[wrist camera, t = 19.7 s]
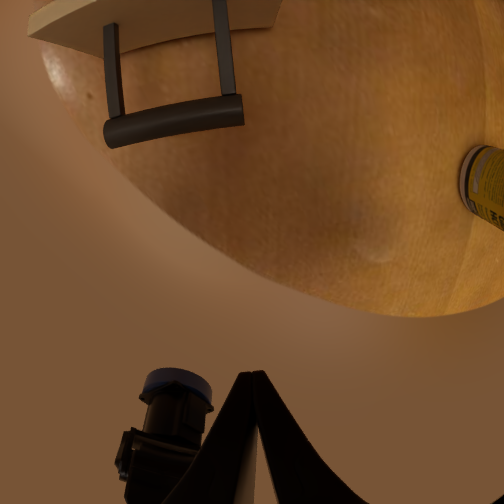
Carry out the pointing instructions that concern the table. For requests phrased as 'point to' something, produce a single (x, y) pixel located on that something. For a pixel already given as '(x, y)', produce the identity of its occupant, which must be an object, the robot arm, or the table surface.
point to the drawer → (146, 33)
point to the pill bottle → (484, 183)
